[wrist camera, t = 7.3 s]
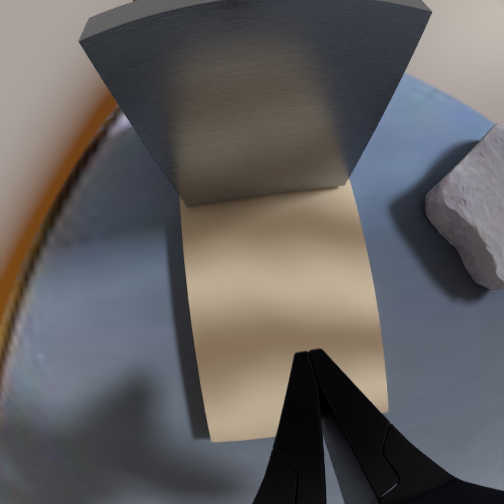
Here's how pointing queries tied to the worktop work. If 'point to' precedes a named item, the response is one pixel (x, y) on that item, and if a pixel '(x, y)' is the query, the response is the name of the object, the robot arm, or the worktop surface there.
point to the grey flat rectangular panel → (254, 86)
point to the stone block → (474, 209)
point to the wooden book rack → (277, 302)
